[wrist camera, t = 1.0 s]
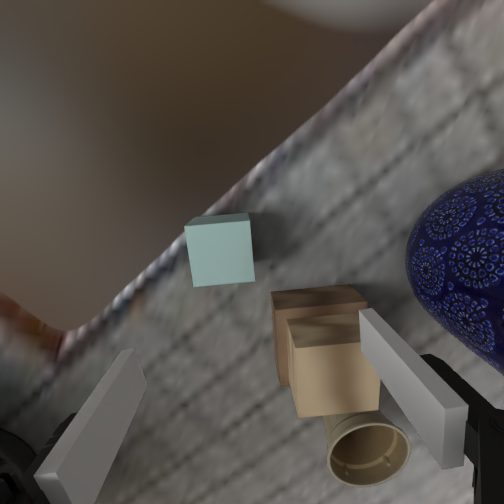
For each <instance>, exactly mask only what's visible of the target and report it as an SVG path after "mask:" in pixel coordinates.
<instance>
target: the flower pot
mask: <svg viewBox="0 0 504 504" xmlns="http://www.w3.org/2000/svg"><path fill="white" fill-rule="evenodd" d="M323 420H324V425H325V430H326V435H327V440H328V443H327V449H328V453H327V465H328V468H329V470H330V472H331V474H332V475H333V476H334V477H335V478H336V479H337V480H338V481H340V482H341V483H343V484H345V485H349V486H353V487H371V486H376V485H379V484H382V483H385V482H386V481H388V480H390V479H392V478H393V477H395V476H396V475H397V474H398V473H399V472H400V471H401V470H402V469H403V468H404V467H405V465H406V464H407V462H408V460H409V457H410V453H411V445H410V442H409V439H408V437H407V436H406V434H405V433H404V432H403V431H402V430H401V429H400V428H398V427H397V426H395V425H394V424H393V423H392V422H391V421H389V420H388V419H386V418H385V416H384V415H383V414H382V413H381V411H380V410H379V409H378V410H373V411H363V412H353V413H343V414H333V415H323Z"/></svg>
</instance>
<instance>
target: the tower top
mask: <svg viewBox="0 0 504 504" xmlns="http://www.w3.org/2000/svg"><path fill="white" fill-rule="evenodd" d="M286 326H287V348H288V369H289V382H290V386H291V390H292V395H293V399H294V403H295V407H296V411H297V415H298V418H303V417H313V416H323V415H333V414H343V413H353V412H363V411H373V410H378V407H379V393H380V377H379V376H378V375H377V373H376V372H375V370H374V369H373V367H372V366H371V364H370V363H369V361H368V360H367V358H366V357H365V356H364V354H363V353H362V351H361V339H360V323H359V313H351V314H340V315H329V316H318V317H307V318H296V319H286Z"/></svg>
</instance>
